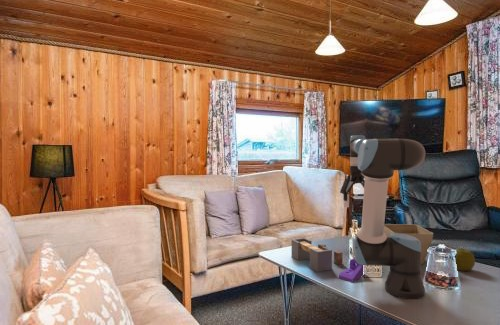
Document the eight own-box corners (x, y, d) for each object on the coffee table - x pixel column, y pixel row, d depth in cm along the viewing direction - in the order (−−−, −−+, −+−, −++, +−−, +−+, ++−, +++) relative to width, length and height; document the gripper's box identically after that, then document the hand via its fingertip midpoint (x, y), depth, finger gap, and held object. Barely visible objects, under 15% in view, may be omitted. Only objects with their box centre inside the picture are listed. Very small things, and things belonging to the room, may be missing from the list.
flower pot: (433, 267, 169) (434, 233, 168) (394, 266, 170) (395, 233, 169) (415, 254, 188) (416, 224, 187) (380, 254, 189) (381, 224, 188)
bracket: (351, 271, 165) (351, 257, 164) (365, 275, 160) (365, 260, 160) (338, 278, 156) (338, 263, 156) (352, 282, 151) (352, 267, 151)
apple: (470, 275, 158) (470, 251, 158) (447, 269, 166) (448, 247, 165) (477, 270, 165) (478, 247, 164) (455, 264, 172) (456, 243, 172)
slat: (324, 255, 169) (324, 250, 169) (317, 256, 167) (317, 251, 167) (304, 245, 185) (304, 241, 185) (298, 246, 184) (298, 242, 184)
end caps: (331, 269, 167) (332, 249, 167) (317, 271, 164) (317, 252, 163) (304, 254, 189) (304, 237, 189) (291, 256, 186) (291, 239, 185)
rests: (342, 263, 174) (342, 252, 174) (337, 264, 173) (337, 253, 173) (322, 254, 190) (322, 243, 189) (318, 254, 188) (318, 244, 188)
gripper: (370, 164, 186) (370, 203, 187) (333, 165, 175) (333, 206, 177) (381, 164, 179) (380, 205, 180) (342, 166, 169) (342, 209, 170)
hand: (357, 206), depth 178 cm, fingers open, 13 cm apart
